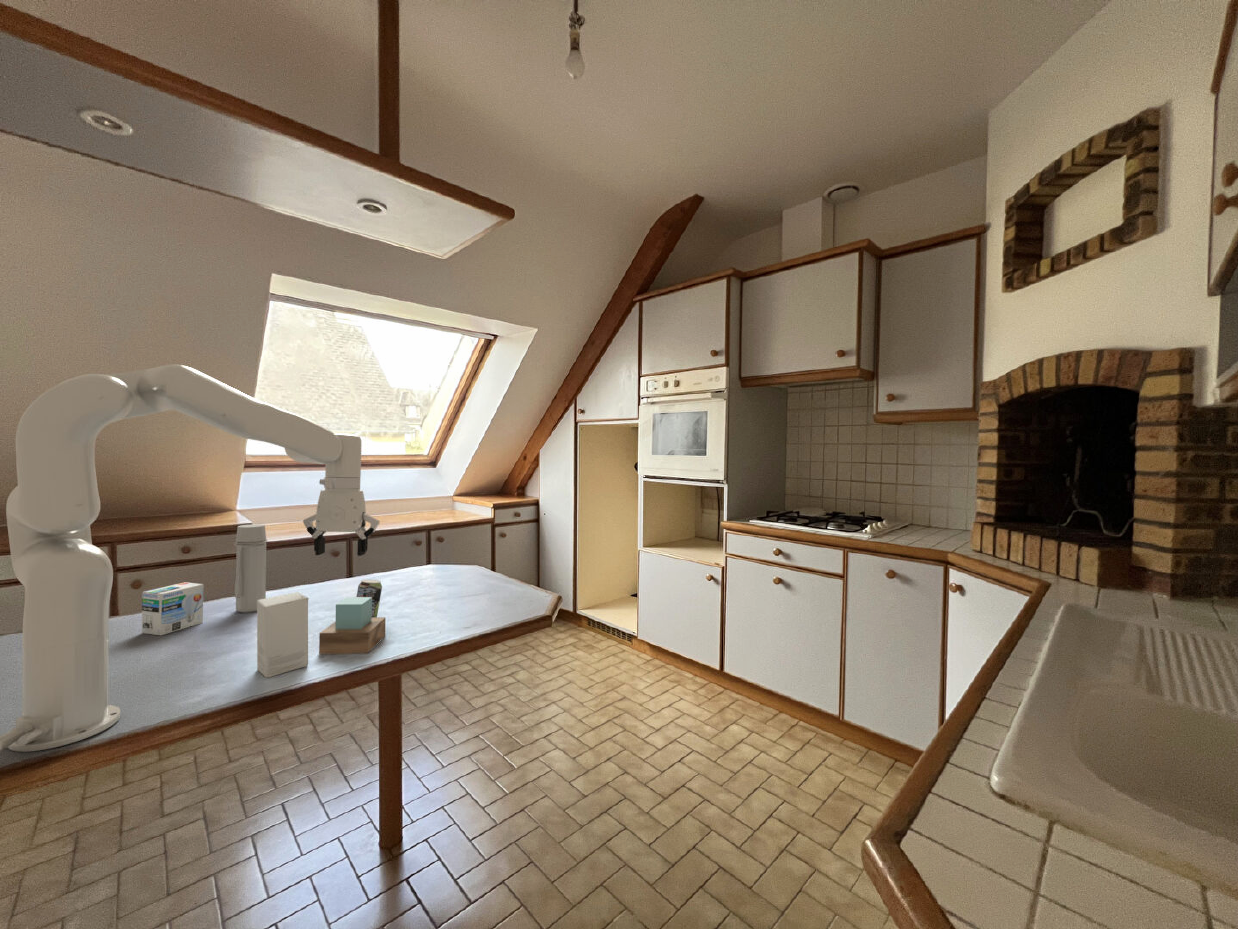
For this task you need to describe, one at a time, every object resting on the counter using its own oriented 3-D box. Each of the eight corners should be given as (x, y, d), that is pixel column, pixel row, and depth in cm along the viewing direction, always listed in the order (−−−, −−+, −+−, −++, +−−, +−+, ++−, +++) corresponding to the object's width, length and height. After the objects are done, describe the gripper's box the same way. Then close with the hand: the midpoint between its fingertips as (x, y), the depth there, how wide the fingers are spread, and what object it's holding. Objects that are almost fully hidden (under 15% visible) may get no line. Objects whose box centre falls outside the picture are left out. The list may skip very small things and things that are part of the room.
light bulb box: (160, 636, 124) (161, 593, 123) (140, 633, 125) (140, 591, 125) (204, 622, 134) (205, 583, 134) (184, 620, 135) (185, 581, 135)
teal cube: (361, 629, 118) (361, 604, 118) (335, 629, 118) (335, 604, 118) (371, 620, 124) (371, 597, 124) (346, 620, 124) (347, 597, 124)
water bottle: (247, 605, 149) (248, 523, 149) (272, 606, 149) (274, 524, 149) (222, 615, 140) (223, 528, 140) (248, 616, 140) (250, 528, 139)
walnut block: (368, 653, 116) (368, 632, 116) (319, 654, 115) (319, 633, 115) (385, 636, 127) (385, 617, 127) (340, 637, 126) (340, 617, 126)
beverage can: (347, 624, 135) (348, 581, 135) (371, 617, 142) (372, 576, 141) (362, 629, 132) (362, 584, 132) (386, 621, 139) (387, 579, 138)
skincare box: (298, 658, 113) (299, 591, 112) (309, 667, 108) (310, 597, 108) (254, 670, 106) (255, 598, 106) (264, 679, 102) (265, 605, 102)
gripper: (296, 484, 115) (294, 557, 115) (373, 486, 117) (371, 558, 117) (313, 482, 122) (311, 551, 123) (385, 484, 124) (383, 552, 124)
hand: (340, 554), depth 120 cm, fingers open, 9 cm apart
